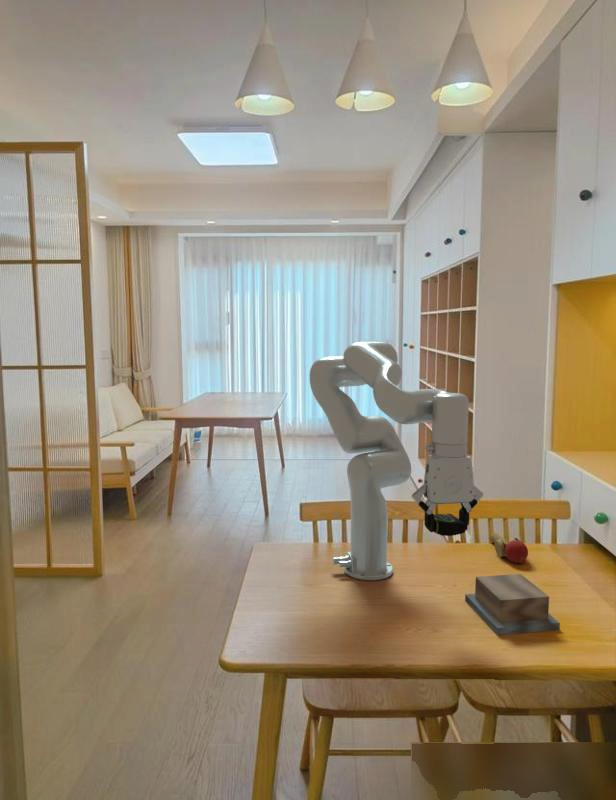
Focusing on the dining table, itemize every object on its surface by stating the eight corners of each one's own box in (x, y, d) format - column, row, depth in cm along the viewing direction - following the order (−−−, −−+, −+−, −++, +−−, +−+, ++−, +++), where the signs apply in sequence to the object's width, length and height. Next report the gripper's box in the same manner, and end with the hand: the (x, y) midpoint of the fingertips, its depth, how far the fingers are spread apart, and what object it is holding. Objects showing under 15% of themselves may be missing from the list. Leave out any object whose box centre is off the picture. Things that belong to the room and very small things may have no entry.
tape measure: (466, 538, 127) (467, 521, 127) (437, 540, 126) (438, 523, 125) (452, 527, 134) (453, 511, 133) (424, 529, 132) (425, 513, 132)
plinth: (497, 635, 122) (498, 605, 121) (465, 600, 137) (465, 573, 137) (559, 629, 124) (561, 600, 123) (520, 596, 140) (521, 569, 139)
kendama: (479, 547, 175) (505, 563, 157) (482, 526, 175) (508, 539, 157) (504, 551, 175) (532, 567, 157) (507, 530, 176) (536, 543, 158)
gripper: (416, 454, 122) (414, 537, 124) (494, 452, 125) (491, 533, 127) (405, 447, 129) (403, 525, 132) (479, 445, 132) (476, 521, 134)
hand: (446, 528), depth 129 cm, fingers closed on tape measure, 7 cm apart
